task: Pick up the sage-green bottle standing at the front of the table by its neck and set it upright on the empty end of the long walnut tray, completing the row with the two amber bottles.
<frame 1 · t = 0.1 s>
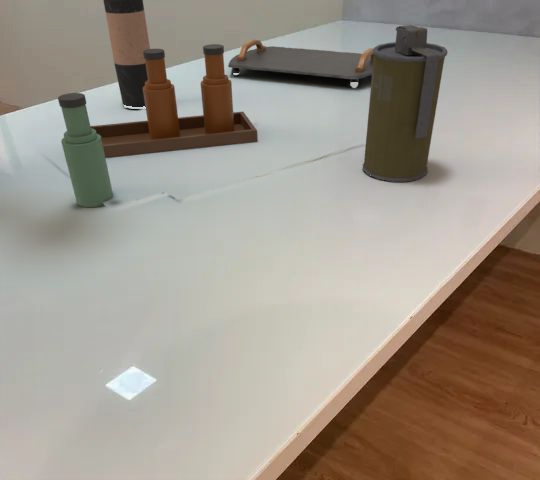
serving tray: (307, 73, 139), on the table
canister: (395, 171, 90), on the table
green bottle: (95, 199, 84), on the table
amber bottle mid: (165, 140, 101), point 1 cm above the table, touching row tray
travel mug: (140, 106, 121), on the table
row tray: (166, 143, 102), on the table
amber bottle far: (219, 134, 103), point 1 cm above the table, touching row tray
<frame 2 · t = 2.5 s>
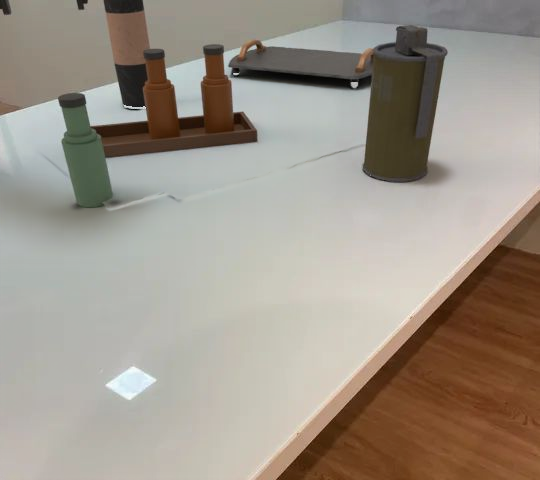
hand: (44, 11, 67), 24 cm above the table, tool pointing down, fingers open, 8 cm apart
nothing on the table moved.
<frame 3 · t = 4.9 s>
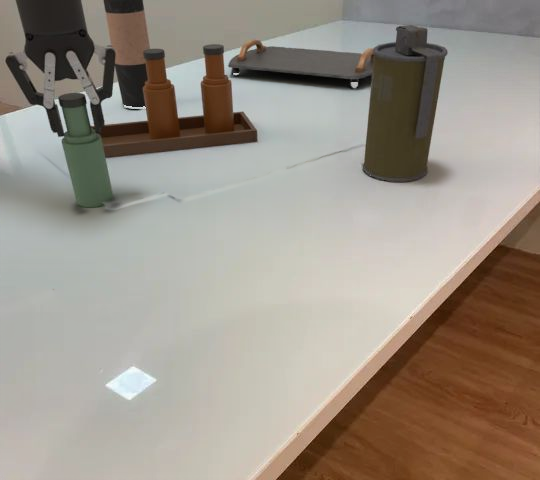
hand: (79, 132, 77), 10 cm above the table, tool pointing down, fingers closed on green bottle, 4 cm apart
green bottle: (95, 199, 84), on the table, touching gripper
everything else where it was.
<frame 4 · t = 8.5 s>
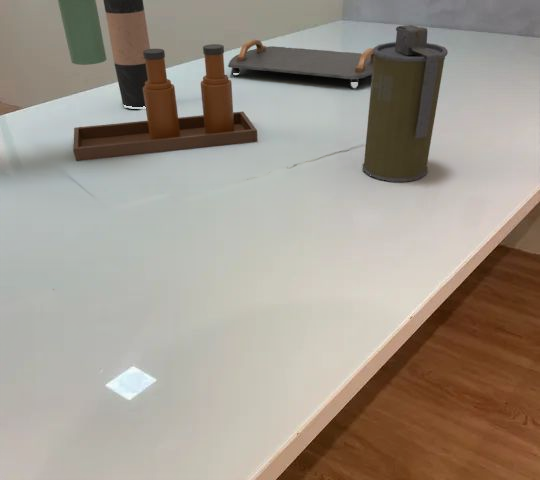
green bottle: (89, 60, 88), point 15 cm above the table, touching gripper
everything else where it was.
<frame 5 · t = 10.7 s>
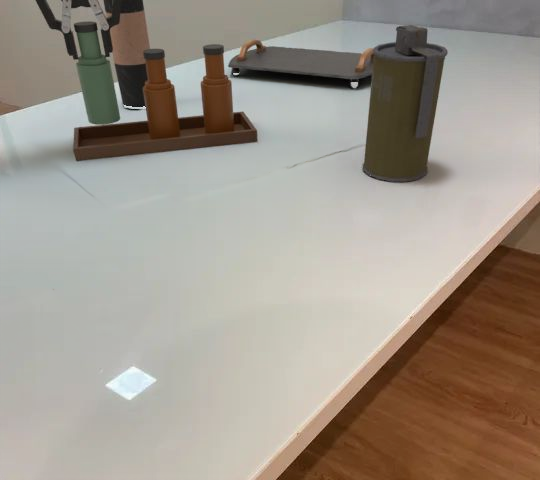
hand: (91, 56, 90), 15 cm above the table, tool pointing down, fingers closed on green bottle, 4 cm apart
green bottle: (104, 119, 97), point 5 cm above the table, touching gripper
everything else where it was.
when the fingers open (10 cm above the table, at t = 12.3 s): green bottle stays where it is, resting on row tray.
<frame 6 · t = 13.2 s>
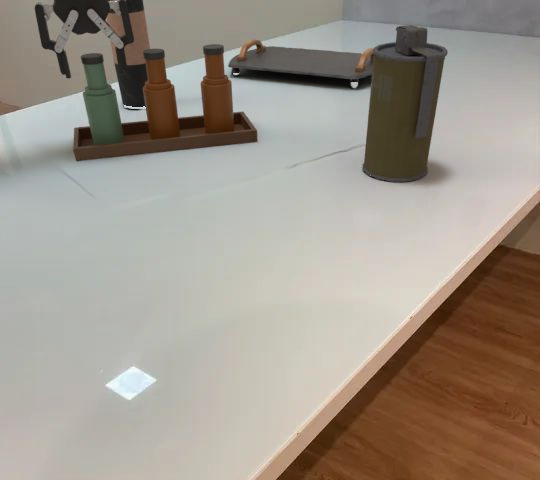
hand: (95, 75, 92), 12 cm above the table, tool pointing down, fingers open, 8 cm apart
green bottle: (109, 146, 100), point 1 cm above the table, touching row tray
everything else where it was.
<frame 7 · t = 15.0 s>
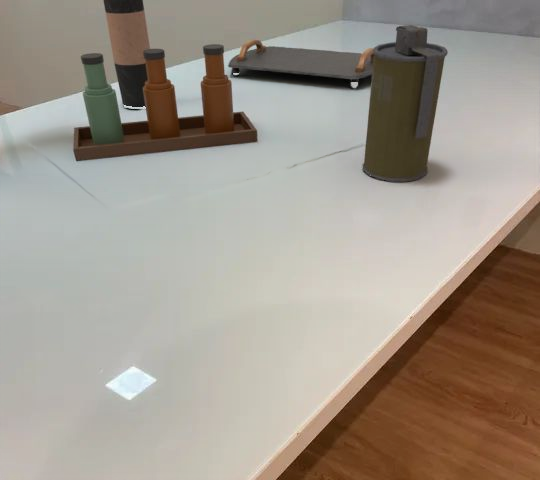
nothing on the table moved.
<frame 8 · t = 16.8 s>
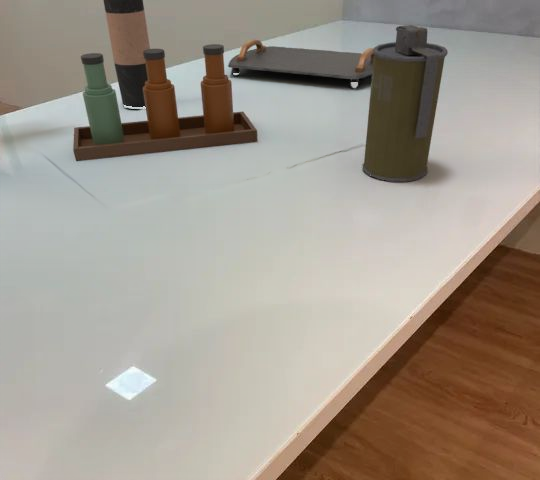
nothing on the table moved.
at the end: green bottle 0.0 cm from the target spot in the row tray, point 0.6 cm above the row tray's base; green bottle tilted 0°; amber bottle mid moved 0.0 cm from its start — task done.
